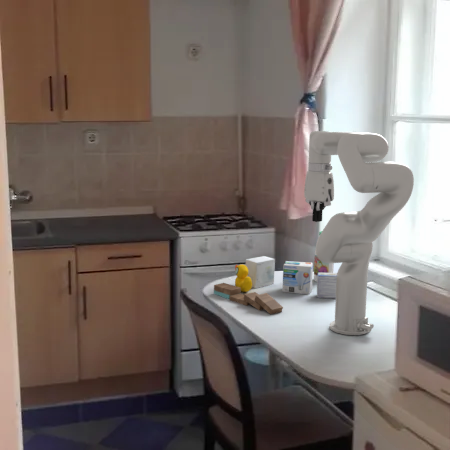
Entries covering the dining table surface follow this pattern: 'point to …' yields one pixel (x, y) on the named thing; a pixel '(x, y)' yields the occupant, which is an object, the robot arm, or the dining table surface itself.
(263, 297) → the tile
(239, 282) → the duckling
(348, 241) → the robot arm
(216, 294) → the teal tile
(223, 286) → the tile
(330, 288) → the medicine box
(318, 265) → the milk bottle
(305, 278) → the light bulb box
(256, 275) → the skincare box
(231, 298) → the tile
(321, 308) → the dining table surface
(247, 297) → the tile
